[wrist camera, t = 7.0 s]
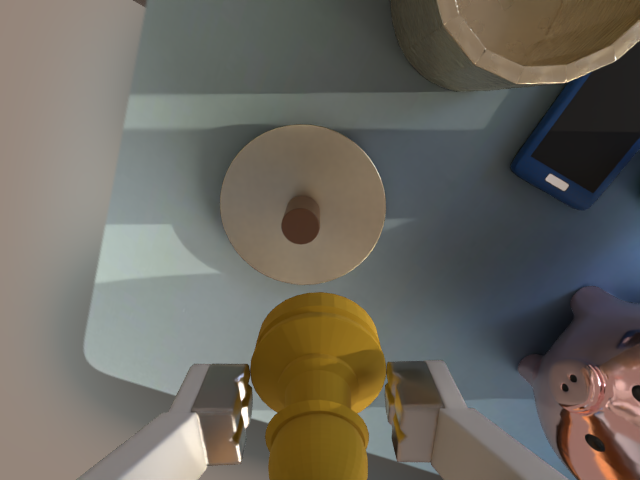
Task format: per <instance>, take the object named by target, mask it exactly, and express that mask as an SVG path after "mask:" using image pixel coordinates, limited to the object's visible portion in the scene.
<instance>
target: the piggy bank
mask: <svg viewBox="0 0 640 480" xmlns="http://www.w3.org/2000/svg"><path fill="white" fill-rule="evenodd" d="M570 307H571V309H572V311H573V314H574V318H573V320H572V322H571V323H570V325H569V326H568V327H567V328H566V329H565V331H564V332H563V333H562V334H561V335H560V337H559V338H558V339H557V340H556V342H555V343H554V344H553V345H552V346H551V348H550V349H549V350H548V351H547V352H546V354H545V355H544V356H543V355H540V354H531V355H528V356H526V357H525V358H523V359H522V360H521V361H520V363H519V365H518V372H519V374H520V375H521V376H522V377H523V378H524V379H525V380H526V381H527V382H528V383H529V384H530V385H531V386H532V387H533V392H534V398H535V404H536V409H537V413H538V417H539V420H540V423H541V426H542V429H543V431H544V434H545V436H546V438H547V440H548V442H549V443H550V445H551V447H552V449H553V450H554V452H555V453H556V455H557V456H558V457H559V459H560V460H561V462H562V463H563V464H564V465H565V467H566V468H567V469H568V470H569V471H570V473H571V474H572V475H573V476H574V477H575V478H576V479H577V480H640V303H633V302H627V301H623V300H620V299H618V298H616V297H615V296H613V295H611V294H609V293H608V292H606V291H604V290H603V289H601V288H599V287H596V286H586V287H583V288H581V289H579V290H578V291H577V292H576V293H575V294H574V295H573V297H572V298H571V301H570Z"/></svg>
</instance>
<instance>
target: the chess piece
mask: <svg viewBox="0 0 640 480" xmlns="http://www.w3.org/2000/svg"><path fill="white" fill-rule="evenodd" d="M250 373H251V380H252V383H253V386H254V388H255V391H256V392H257V394H258V395H259V397H260V398H261V399H262V401H263V402H264V403H266V404H267V405H268V406H269V407H270V408H271V409H273V410H274V411H276V412H277V414H276V415H275V416H274V417H273V418H272V419H271V421H270V422H269V424H268V427H267V429H266V435H265V439H266V445H267V447H268V449H269V451H270V457H269V479H270V480H367V475H368V461H367V454H366V448H367V445H368V441H369V433H368V429H367V426H366V424H365V423H364V421H363V419H362V418H361V417H360V416H359V415H358V414H357V413H359V412H361V411H362V410H363V409H365V408H366V407H367V406H369V405H370V404H371V403H372V402H373V401H374V399H375V398H376V397H377V396H378V394H379V392H380V391H381V389H382V387H383V384H384V380H385V377H386V363H385V359H384V354H383V352H382V350H381V347H380V342H379V338H378V334H377V330H376V327H375V325H374V323H373V321H372V319H371V317H370V316H369V315H368V314H367V313H366V311H365V310H364V309H363V308H361V307H360V306H359V305H358V304H356V303H355V302H353V301H351V300H349V299H347V298H345V297H342V296H339V295H335V294H330V293H322V292H318V293H306V294H302V295H297V296H295V297H292V298H290V299H287V300H285V301H284V302H282V303H281V304H279V305H278V306H276V307H275V308H274V309H273V310H272V311H271V312H270V313H269V314H268V315H267V317H266V319H265V320H264V322H263V323H262V326H261V329H260V332H259V336H258V339H257V343H256V347H255V351H254V353H253V356H252V359H251V368H250Z"/></svg>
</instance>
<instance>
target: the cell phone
mask: <svg viewBox="0 0 640 480" xmlns="http://www.w3.org/2000/svg"><path fill="white" fill-rule="evenodd" d="M639 149H640V41H639V42H637V43H636V44H635V45H634V46H633V47H632V48H631V49H629V50H628V51H627V52H626V53H625V54H624V55H623V56H622V57H620V58H619V59H618V60H616V61H615V62H613V63H611V64H609V65H606V66H604V67H602V68H599V69H597V70H595V71H593V72H590V73H588V74H586V75H583V76H581V77H579V78H576V79H574V80H572V81H570V82H568V84H567V85H566V86H565V88H564V89H563V91H562V92H561V93H560V95H559V96H558V98H557V99H556V100H555V102H554V103H553V105H552V106H551V107H550V109H549V110H548V112H547V113H546V114H545V116H544V117H543V119H542V120H541V121H540V123H539V124H538V126H537V127H536V128H535V130H534V131H533V133H532V134H531V135H530V137H529V138H528V140H527V141H526V142H525V144H524V145H523V147H522V148H521V149H520V151H519V152H518V154H517V155H516V157H515V159H514V160H513V162H512V164H511V170H512V172H514V173H515V174H516V175H517V176H518V177H520V178H522V179H523V180H525V181H527V182H528V183H530V184H532V185H534V186H535V187H537V188H539V189H540V190H542V191H544V192H546V193H547V194H549V195H551V196H553V197H554V198H556V199H558V200H559V201H561V202H563V203H565V204H566V205H568V206H570V207H572V208H574V209H577V210H586V209H588V208H590V207H591V206H592V204H593V203H594V202H595V201H596V200H597V199H598V198H599V197H600V195H601V194H602V193H603V192H604V191H605V190H606V188H607V187H608V186H609V185H610V184H611V182H612V181H613V180H614V179H615V178H616V176H617V175H618V174H619V173H620V172H621V170H622V169H623V168H624V167H625V166H626V165H627V163H628V162H629V161H630V160H631V159H632V157H633V156H634V155H635V154H636V153H637V151H638V150H639Z"/></svg>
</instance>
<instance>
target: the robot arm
mask: <svg viewBox="0 0 640 480" xmlns="http://www.w3.org/2000/svg"><path fill="white" fill-rule="evenodd" d="M386 375H387V379H388V383H387V384H386V385H385V407H386V414H387V419H388V422H389V423H390V424H391V425H392V441H393V446H394V450H395V455H396V459H397V462H431V465H432V466H433V467H434V468H435V470H436V471H437V472H438V473H439V474H440V476H441V477H442V478H443V479H444V480H569V479H567V478H566V477H565V476H563V475H562V474H561V473H559V472H558V471H557V470H555V469H554V468H553V467H551V466H550V465H549V464H547V463H546V462H545V461H543V460H542V459H541V458H539V457H538V456H537V455H535V454H534V453H533V452H531V451H530V450H529V449H527V448H526V447H525V446H523V445H522V444H521V443H519V442H518V441H517V440H515V439H514V438H513V437H511V436H510V435H509V434H507V433H506V432H505V431H503V430H502V429H501V428H499V427H498V426H497V425H495V424H494V423H493V422H491V421H490V420H489V419H487V418H486V417H485V416H483V415H482V414H481V413H479V412H478V411H477V410H475V409H474V408H467V406H466V404H465V402H464V400H463V398H462V396H461V394H460V392H459V390H458V388H457V386H456V384H455V382H454V380H453V378H452V376H451V374H450V372H449V370H448V368H447V366H446V364H445V362H444V361H443V360H427V361H398V362H388V363H387V369H386ZM249 379H250V369H249V365H248V364H193V365H192V366H191V367H190V369H189V371H188V373H187V375H186V377H185V379H184V381H183V383H182V385H181V387H180V389H179V391H178V393H177V395H176V397H175V399H174V401H173V403H172V405H171V407H170V410H169V411H168V413H162V414H160V415H159V416H158V417H156V418H155V419H154V420H152V421H151V422H150V423H148V424H147V425H146V426H145V427H144V428H142V429H141V430H139V431H138V432H137V433H136V434H135V435H133V436H132V437H130V438H129V439H128V440H127V441H125V442H124V443H123V444H121V445H120V446H119V447H117V448H116V449H115V450H114V451H112V452H111V453H110V454H108V455H107V456H106V457H105V458H103V459H102V460H101V461H99V462H98V463H97V464H96V465H94V466H93V467H92V468H90V469H89V470H88V471H86V472H85V473H84V474H83V475H81V476H80V477H79V478H77V479H76V480H198V478H199V477H200V476H201V475H202V474H203V472H204V471H205V470H206V469H207V466H212V465H233V464H234V465H235V464H241V462H242V457H243V452H244V448H245V443H246V433H245V428H246V427H247V426H248V425H249V424H250V420H251V415H252V405H253V394H252V387H251V386H250V385H249V384H248V383H249Z"/></svg>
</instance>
